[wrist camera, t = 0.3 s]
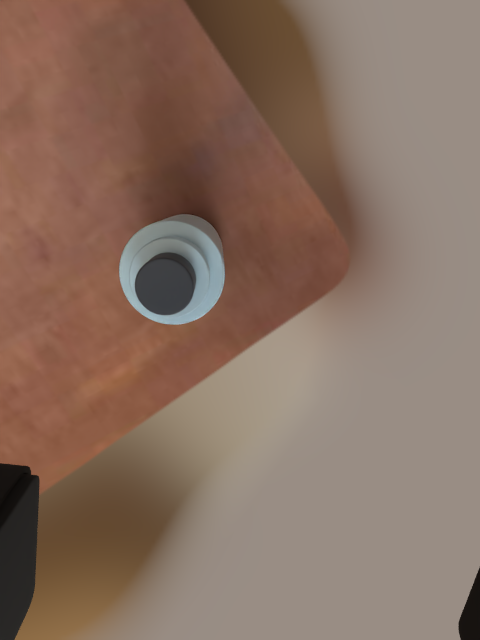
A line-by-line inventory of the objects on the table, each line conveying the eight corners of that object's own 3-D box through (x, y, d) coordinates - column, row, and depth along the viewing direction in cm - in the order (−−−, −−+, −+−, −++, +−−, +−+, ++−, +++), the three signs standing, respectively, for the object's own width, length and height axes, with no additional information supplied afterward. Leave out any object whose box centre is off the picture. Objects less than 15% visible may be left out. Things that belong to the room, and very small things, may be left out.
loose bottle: (153, 208, 28) (106, 214, 16) (228, 220, 28) (235, 235, 17) (144, 282, 29) (96, 336, 18) (216, 293, 30) (216, 353, 18)
